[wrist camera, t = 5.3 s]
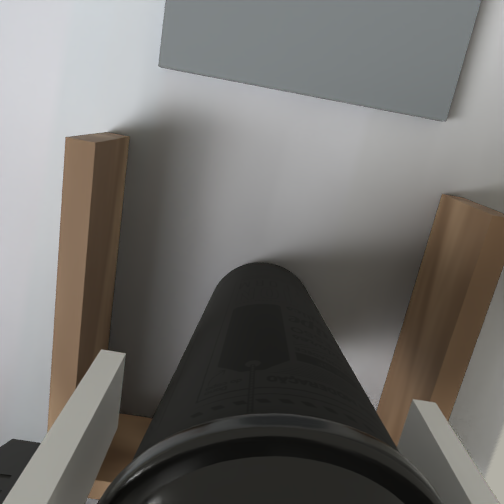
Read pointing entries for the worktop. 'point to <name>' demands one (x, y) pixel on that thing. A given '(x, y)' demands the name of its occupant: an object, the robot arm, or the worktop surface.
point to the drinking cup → (266, 412)
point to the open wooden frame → (409, 342)
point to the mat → (327, 48)
